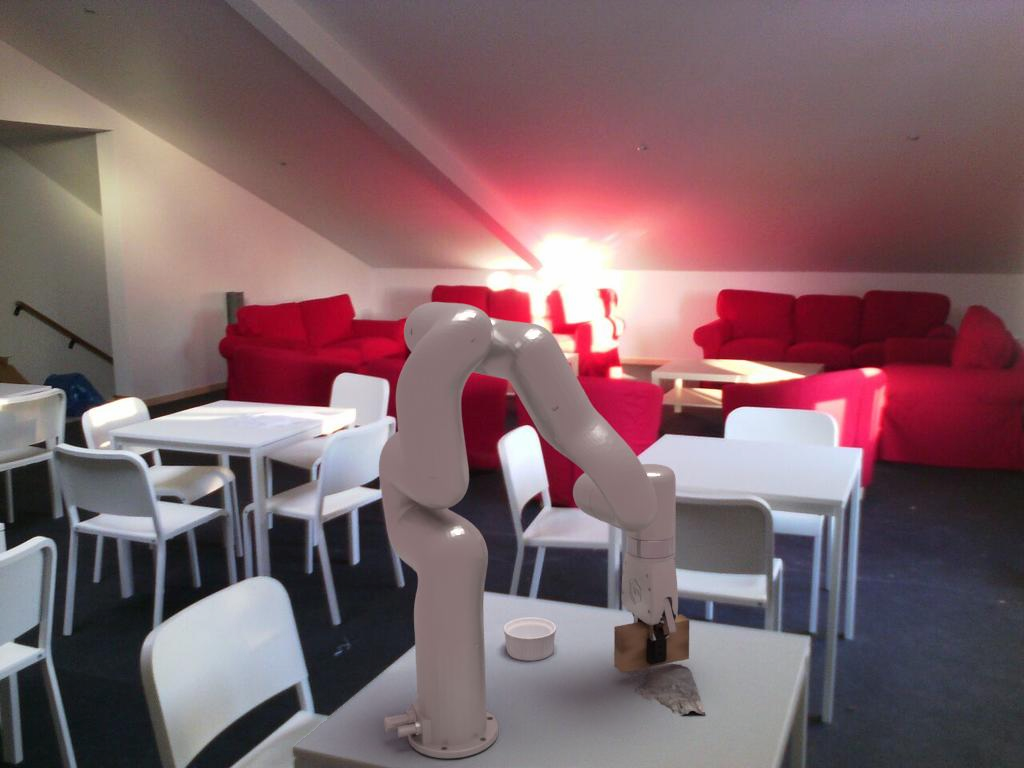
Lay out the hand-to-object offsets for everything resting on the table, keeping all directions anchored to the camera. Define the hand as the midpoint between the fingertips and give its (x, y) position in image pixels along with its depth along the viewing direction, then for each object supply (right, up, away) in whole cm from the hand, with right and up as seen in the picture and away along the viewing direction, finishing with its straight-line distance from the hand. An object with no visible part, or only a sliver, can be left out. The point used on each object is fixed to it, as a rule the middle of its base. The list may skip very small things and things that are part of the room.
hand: (650, 656), depth 138 cm
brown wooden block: (0, -1, 0) cm, 1 cm away
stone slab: (+1, -4, -3) cm, 6 cm away
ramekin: (-19, -3, +10) cm, 21 cm away
